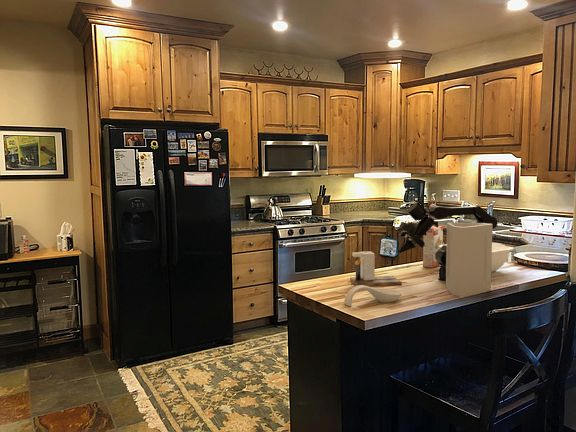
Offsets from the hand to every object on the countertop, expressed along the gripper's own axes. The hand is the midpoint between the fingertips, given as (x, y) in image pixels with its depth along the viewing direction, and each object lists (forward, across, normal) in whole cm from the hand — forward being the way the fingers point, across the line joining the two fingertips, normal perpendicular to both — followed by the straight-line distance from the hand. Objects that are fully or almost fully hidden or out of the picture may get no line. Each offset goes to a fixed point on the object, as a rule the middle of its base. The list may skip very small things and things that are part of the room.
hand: (398, 252), depth 211 cm
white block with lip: (+20, 0, -4) cm, 20 cm away
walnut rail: (+17, 0, +2) cm, 17 cm away
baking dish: (-22, -16, +42) cm, 50 cm away
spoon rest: (+24, +30, -5) cm, 39 cm away
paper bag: (-5, +18, +25) cm, 31 cm away
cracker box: (-12, -32, +31) cm, 46 cm away
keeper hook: (+22, 0, -5) cm, 22 cm away
